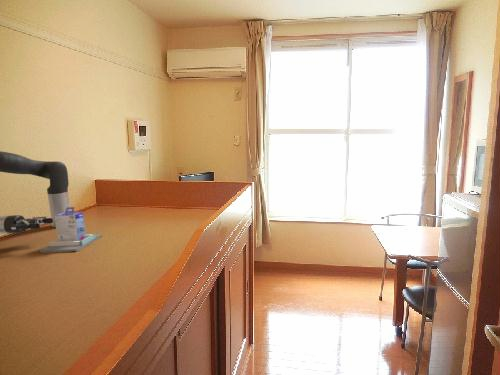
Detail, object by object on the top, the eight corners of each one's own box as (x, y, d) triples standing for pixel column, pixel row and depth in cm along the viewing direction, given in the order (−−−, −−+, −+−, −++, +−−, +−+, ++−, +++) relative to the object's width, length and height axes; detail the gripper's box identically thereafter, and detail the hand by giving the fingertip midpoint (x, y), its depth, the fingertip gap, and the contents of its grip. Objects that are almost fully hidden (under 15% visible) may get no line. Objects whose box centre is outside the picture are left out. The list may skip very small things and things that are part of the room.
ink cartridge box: (87, 239, 149) (83, 206, 147) (79, 243, 143) (74, 209, 141) (66, 239, 151) (62, 206, 148) (57, 243, 145) (52, 209, 143)
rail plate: (69, 237, 157) (69, 232, 157) (101, 236, 156) (101, 231, 156) (40, 252, 138) (39, 246, 137) (76, 251, 137) (76, 245, 136)
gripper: (-5, 220, 140) (33, 218, 139) (20, 211, 154) (55, 210, 153) (-2, 238, 141) (36, 236, 140) (23, 228, 155) (57, 227, 154)
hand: (46, 223), depth 146 cm, fingers open, 8 cm apart
